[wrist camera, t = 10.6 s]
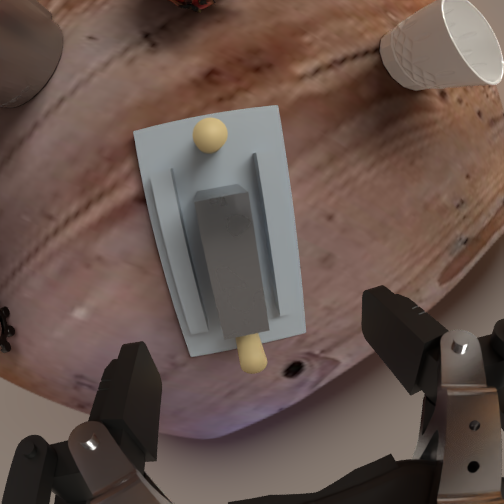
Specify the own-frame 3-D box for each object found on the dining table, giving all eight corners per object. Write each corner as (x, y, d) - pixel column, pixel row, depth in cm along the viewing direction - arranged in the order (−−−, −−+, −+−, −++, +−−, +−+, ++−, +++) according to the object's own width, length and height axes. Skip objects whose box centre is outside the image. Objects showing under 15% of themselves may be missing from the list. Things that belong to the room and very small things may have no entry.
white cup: (363, 63, 20) (434, 30, 11) (385, 13, 19) (447, -22, 9) (422, 111, 22) (499, 105, 13) (439, 59, 21) (506, 44, 11)
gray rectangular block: (197, 190, 21) (194, 201, 15) (237, 183, 21) (248, 191, 16) (219, 298, 24) (224, 339, 18) (255, 291, 24) (269, 330, 19)
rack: (136, 132, 20) (113, 123, 14) (274, 107, 21) (297, 90, 15) (191, 350, 26) (189, 394, 21) (302, 327, 27) (324, 364, 22)
